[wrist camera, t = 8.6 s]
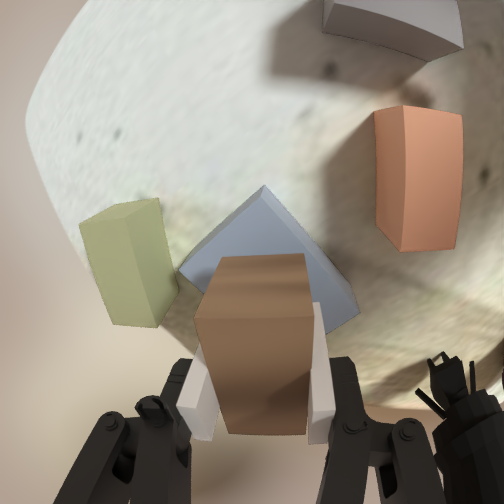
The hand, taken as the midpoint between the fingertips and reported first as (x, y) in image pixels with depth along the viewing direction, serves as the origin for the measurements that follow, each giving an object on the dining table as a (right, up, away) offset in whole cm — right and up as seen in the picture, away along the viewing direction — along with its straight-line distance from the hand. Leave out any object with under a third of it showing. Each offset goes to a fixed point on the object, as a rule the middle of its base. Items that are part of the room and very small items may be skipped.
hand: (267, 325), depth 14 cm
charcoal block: (+8, +20, -2) cm, 21 cm away
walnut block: (0, 0, +1) cm, 1 cm away
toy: (+19, -7, +9) cm, 22 cm away
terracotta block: (+10, +10, +2) cm, 14 cm away
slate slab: (+1, +3, +6) cm, 7 cm away
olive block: (-9, +4, +7) cm, 12 cm away
